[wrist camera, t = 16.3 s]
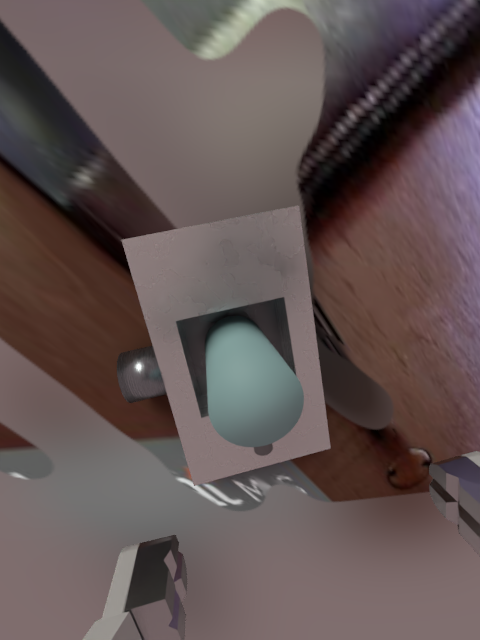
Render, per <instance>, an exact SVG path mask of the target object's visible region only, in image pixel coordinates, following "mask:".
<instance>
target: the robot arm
mask: <svg viewBox="0 0 480 640" xmlns="http://www.w3.org/2000/svg"><path fill="white" fill-rule="evenodd" d="M429 474H430V475H431V476H432V477H433V480H432V481H431V483H430V485H429V486H430V494H431V497H432V499H433V502H434V504H435V505H436V507H437V508H438V510H439V511H440V512H441V513H442V515H443V516H444V517H445V518H446V519H447V520H449V521H451V522H453V523H455V524H457V525H458V530H459V534H460V535H461V536H462V537H463V538H464V539H465V541H466V542H467V543H468V544H469V545H470V546H471V547H472V548H473V549H474V551H475V552H476V553H477V554H478V555H479V556H480V452H478V451H475V452H471V453H468V454H464V455H461V456H455V457H452V458H449V459H445V460H442V461H438V462H435V463H432V464H431V465H430V467H429ZM178 546H179V542H178V540H177V537H176V535H172V536H168V537H164V538H159V539H155V540H151V541H147V542H143V543H139V544H135V545H132V546H128V547H124V548H123V549H122V551H121V553H120V555H119V558H118V562H117V565H116V569H115V573H114V576H113V580H112V584H111V587H110V591H109V594H108V598H107V602H106V605H105V609H104V612H103V616H102V619H100V620H97V621H95V623H94V624H93V626H92V627H91V629H90V630H89V631H88V633H87V634H86V635H85V637H84V638H83V640H184V636H185V617H186V614H185V611H184V608H183V605H182V602H183V600H184V598H185V596H186V594H187V573H186V564H185V560H184V557H183V554H182V553H180V552H179V551H178Z"/></svg>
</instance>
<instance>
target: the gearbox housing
mask: <svg viewBox="0 0 480 640" xmlns="http://www.w3.org/2000/svg"><path fill="white" fill-rule="evenodd" d="M122 243H123V247H124V250H125V254H126V257H127V260H128V264H129V267H130V270H131V274H132V277H133V281H134V284H135V287H136V291H137V294H138V298H139V301H140V304H141V308H142V311H143V314H144V318H145V321H146V325H147V328H148V331H149V335H150V338H151V341H152V345H153V346H149V347H145V348H140V349H136V350H131V351H127V352H123V353H121V354H120V355H119V357H118V361H117V375H118V381H119V385H120V389H121V392H122V394H123V396H124V398H125V399H126V400H127V401H128V402H129V403H133V402H137V401H141V400H145V399H149V398H153V397H158V396H162V395H166V394H167V396H168V399H169V402H170V406H171V409H172V413H173V416H174V419H175V423H176V426H177V429H178V433H179V436H180V440H181V443H182V446H183V450H184V453H185V457H186V460H187V463H188V467H189V470H190V473H191V477H192V480H193V484H194V486H195V485H199V484H202V483H206V482H210V481H213V480H217V479H221V478H224V477H228V476H231V475H235V474H239V473H242V472H246V471H250V470H253V469H257V468H261V467H264V466H268V465H272V464H275V463H279V462H283V461H286V460H290V459H294V458H297V457H301V456H305V455H308V454H312V453H316V452H319V451H323V450H327V449H330V448H331V447H330V439H329V431H328V424H327V416H326V408H325V401H324V394H323V386H322V378H321V370H320V362H319V355H318V347H317V339H316V331H315V324H314V316H313V308H312V301H311V293H310V285H309V278H308V271H307V263H306V255H305V247H304V239H303V232H302V224H301V216H300V208H299V205H298V206H294V207H288V208H283V209H278V210H273V211H267V212H263V213H258V214H252V215H247V216H242V217H237V218H232V219H226V220H221V221H216V222H211V223H206V224H201V225H196V226H191V227H186V228H180V229H175V230H170V231H165V232H160V233H155V234H149V235H144V236H139V237H134V238H129V239H124V240H122ZM228 316H243V317H246V318H248V319H250V320H252V321H253V322H255V323H256V324H257V325H258V327H259V328H260V329H261V331H262V332H263V333H264V334H265V336H266V337H267V338H268V340H269V341H270V342H271V344H272V345H273V346H274V348H275V349H276V350H277V351H278V353H279V354H280V355H281V357H282V358H283V359H284V361H285V362H286V363H287V365H288V366H289V367H290V369H291V370H292V371H293V372H294V374H295V375H296V376H297V378H298V379H299V381H300V383H301V386H302V389H303V393H304V405H303V410H302V413H301V416H300V418H299V420H298V422H297V423H296V425H295V426H294V427H293V428H292V430H291V431H290V432H289V433H288V434H286V435H285V436H284V437H282V438H281V439H279V440H278V441H276V442H273V443H272V445H273V450H272V452H271V453H269V454H268V455H264V456H260V455H257V454H256V453H255V452H254V447H243V446H238V445H235V444H233V443H230V442H229V441H227V440H225V439H224V438H223V437H221V436H220V435H219V434H218V433H217V431H216V430H215V429H214V427H213V425H212V423H211V421H210V418H209V413H208V397H207V377H206V357H205V340H206V336H207V333H208V332H209V330H210V328H211V327H212V326H213V325H214V324H215V323H216V322H217V321H219V320H221V319H223V318H225V317H228Z"/></svg>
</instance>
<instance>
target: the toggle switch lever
mask: <svg viewBox="0 0 480 640" xmlns="http://www.w3.org/2000/svg"><path fill="white" fill-rule="evenodd" d="M205 357H206V377H207V397H208V413H209V418H210V421H211V423H212V425H213V427H214V429H215V430H216V431H217V433H218V434H219V435H220V436H221V437H223V438H224V439H225V440H227V441H229V442H230V443H233V444H235V445H238V446H243V447H254V452H255V453H256V454H257V455H260V456H264V455H268V454H269V453H271V452H272V450H273V445H272V443H273V442H276V441H278V440H279V439H281V438H282V437H284V436H285V435H286V434H288V433H289V432H290V431H291V430H292V428H293V427H294V426H295V425H296V423H297V422H298V420H299V418H300V416H301V413H302V410H303V405H304V393H303V389H302V386H301V383H300V381H299V379H298V378H297V376H296V375H295V374H294V372H293V371H292V370H291V369H290V367H289V366H288V365H287V363H286V362H285V361H284V359H283V358H282V357H281V355H280V354H279V353H278V351H277V350H276V349H275V348H274V346H273V345H272V344H271V342H270V341H269V340H268V338H267V337H266V336H265V334H264V333H263V332H262V331H261V329H260V328H259V327H258V325H257V324H256V323H255V322H253V321H252V320H250V319H248V318H246V317H243V316H228V317H225V318H223V319H221V320H219V321H217V322H216V323H215V324H214V325H213V326H212V327H211V328H210V330H209V332H208V333H207V336H206V340H205Z"/></svg>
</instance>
